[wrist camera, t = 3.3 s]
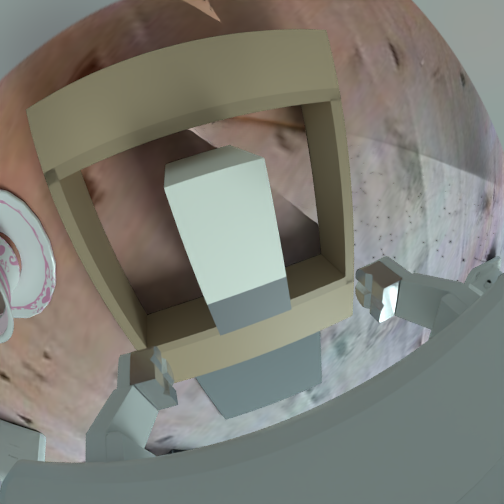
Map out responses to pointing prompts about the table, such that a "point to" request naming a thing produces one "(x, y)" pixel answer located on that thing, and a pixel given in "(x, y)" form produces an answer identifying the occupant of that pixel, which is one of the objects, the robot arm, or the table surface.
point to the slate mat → (265, 377)
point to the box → (230, 234)
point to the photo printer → (19, 446)
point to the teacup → (23, 264)
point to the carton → (185, 117)
